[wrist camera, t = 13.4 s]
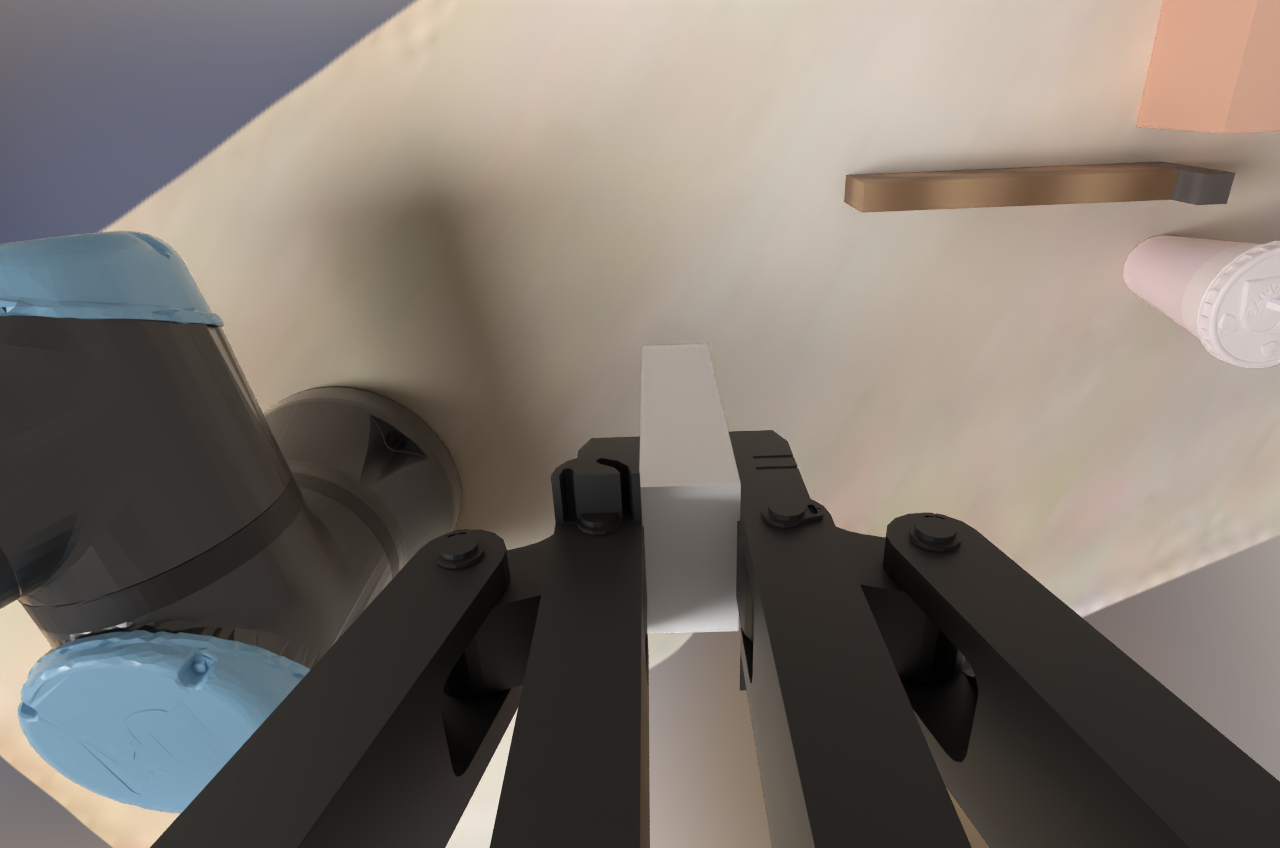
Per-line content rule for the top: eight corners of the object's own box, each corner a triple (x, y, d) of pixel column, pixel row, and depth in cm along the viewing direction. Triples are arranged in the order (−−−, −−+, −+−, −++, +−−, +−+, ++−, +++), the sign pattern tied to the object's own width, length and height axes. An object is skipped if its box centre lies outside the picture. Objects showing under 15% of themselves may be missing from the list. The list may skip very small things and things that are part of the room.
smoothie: (1163, 189, 43) (1378, 232, 31) (1232, 253, 45) (1464, 319, 32) (1077, 278, 45) (1245, 352, 33) (1146, 336, 47) (1332, 428, 34)
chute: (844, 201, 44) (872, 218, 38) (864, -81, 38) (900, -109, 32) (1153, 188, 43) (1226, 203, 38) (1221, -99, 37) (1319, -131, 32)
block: (1135, 126, 42) (1222, 133, 36) (1165, -16, 39) (1267, -36, 33) (1260, 120, 42) (1371, 126, 35) (1301, -24, 39) (1429, -45, 32)
